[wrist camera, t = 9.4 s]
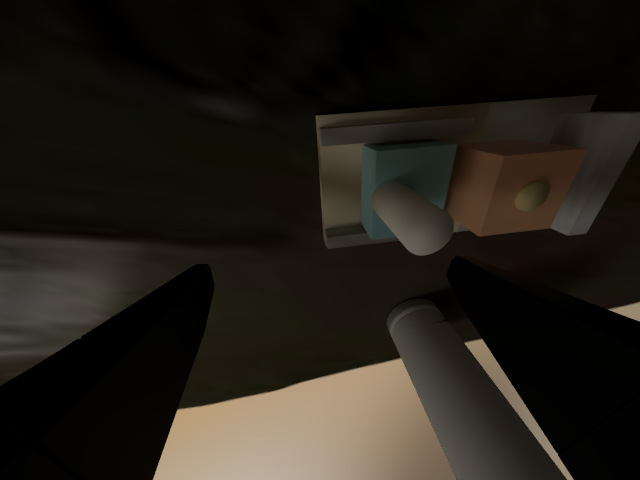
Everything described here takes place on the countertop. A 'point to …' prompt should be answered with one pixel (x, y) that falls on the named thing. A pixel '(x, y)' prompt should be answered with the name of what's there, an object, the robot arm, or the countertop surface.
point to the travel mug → (465, 401)
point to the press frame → (470, 127)
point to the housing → (510, 184)
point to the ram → (408, 193)
